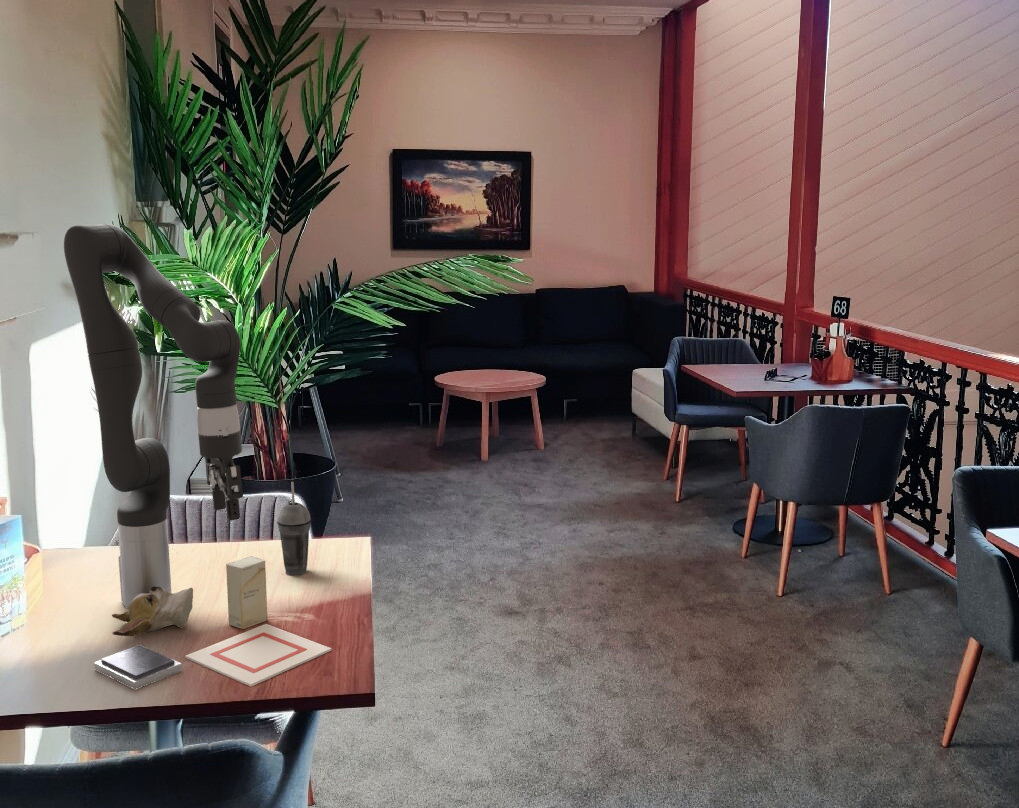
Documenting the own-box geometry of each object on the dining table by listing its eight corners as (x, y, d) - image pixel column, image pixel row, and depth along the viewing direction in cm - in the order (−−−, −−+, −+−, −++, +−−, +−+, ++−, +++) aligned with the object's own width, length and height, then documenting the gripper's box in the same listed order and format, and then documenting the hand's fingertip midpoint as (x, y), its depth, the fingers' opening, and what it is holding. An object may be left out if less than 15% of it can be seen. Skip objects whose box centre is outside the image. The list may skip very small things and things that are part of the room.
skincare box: (242, 630, 193) (239, 569, 191) (227, 624, 196) (224, 563, 194) (269, 620, 198) (266, 559, 196) (254, 614, 201) (251, 555, 199)
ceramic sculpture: (194, 589, 190) (108, 604, 185) (199, 632, 192) (114, 649, 187) (189, 570, 200) (107, 585, 195) (194, 612, 202) (113, 628, 196)
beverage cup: (279, 579, 220) (276, 488, 216) (278, 568, 227) (274, 480, 223) (314, 576, 222) (311, 486, 218) (311, 565, 229) (308, 478, 225)
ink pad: (94, 670, 176) (94, 659, 176) (141, 652, 184) (140, 642, 183) (135, 690, 169) (134, 678, 169) (181, 670, 176) (181, 660, 176)
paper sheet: (185, 657, 181) (185, 655, 181) (266, 625, 195) (266, 623, 195) (250, 686, 171) (250, 683, 171) (331, 650, 185) (331, 647, 185)
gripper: (188, 426, 194) (196, 509, 196) (210, 438, 182) (218, 526, 185) (227, 421, 197) (234, 502, 200) (251, 432, 186) (258, 519, 189)
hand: (226, 514), depth 192 cm, fingers open, 8 cm apart
